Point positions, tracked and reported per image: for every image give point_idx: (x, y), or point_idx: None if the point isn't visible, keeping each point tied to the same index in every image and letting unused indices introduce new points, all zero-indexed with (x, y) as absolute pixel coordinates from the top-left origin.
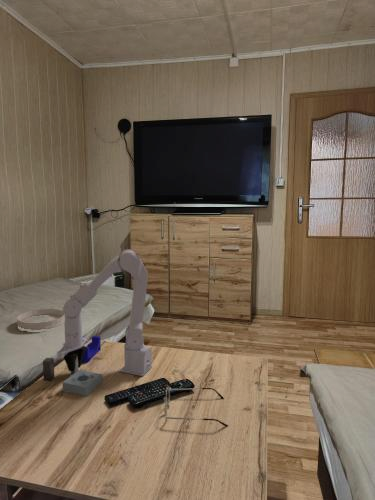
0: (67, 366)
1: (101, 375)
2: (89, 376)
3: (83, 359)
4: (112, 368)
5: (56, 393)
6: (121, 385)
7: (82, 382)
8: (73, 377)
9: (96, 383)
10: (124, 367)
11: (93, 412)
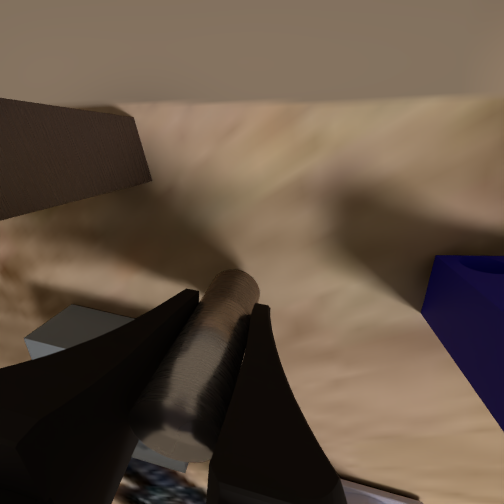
0: (161, 304)
1: (179, 467)
2: None
3: (442, 296)
4: (344, 442)
5: (43, 286)
6: (208, 473)
7: None
8: None
9: None
10: (345, 491)
11: None
